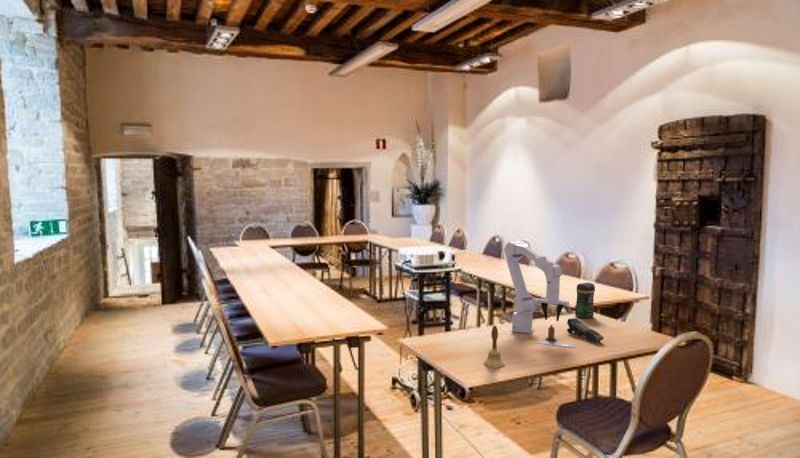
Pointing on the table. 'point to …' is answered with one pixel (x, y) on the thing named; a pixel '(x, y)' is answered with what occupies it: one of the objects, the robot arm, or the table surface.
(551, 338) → the awl
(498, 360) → the hand bell
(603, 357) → the table surface
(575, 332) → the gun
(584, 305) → the coffee jar
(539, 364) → the table surface
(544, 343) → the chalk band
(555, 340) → the coaster
